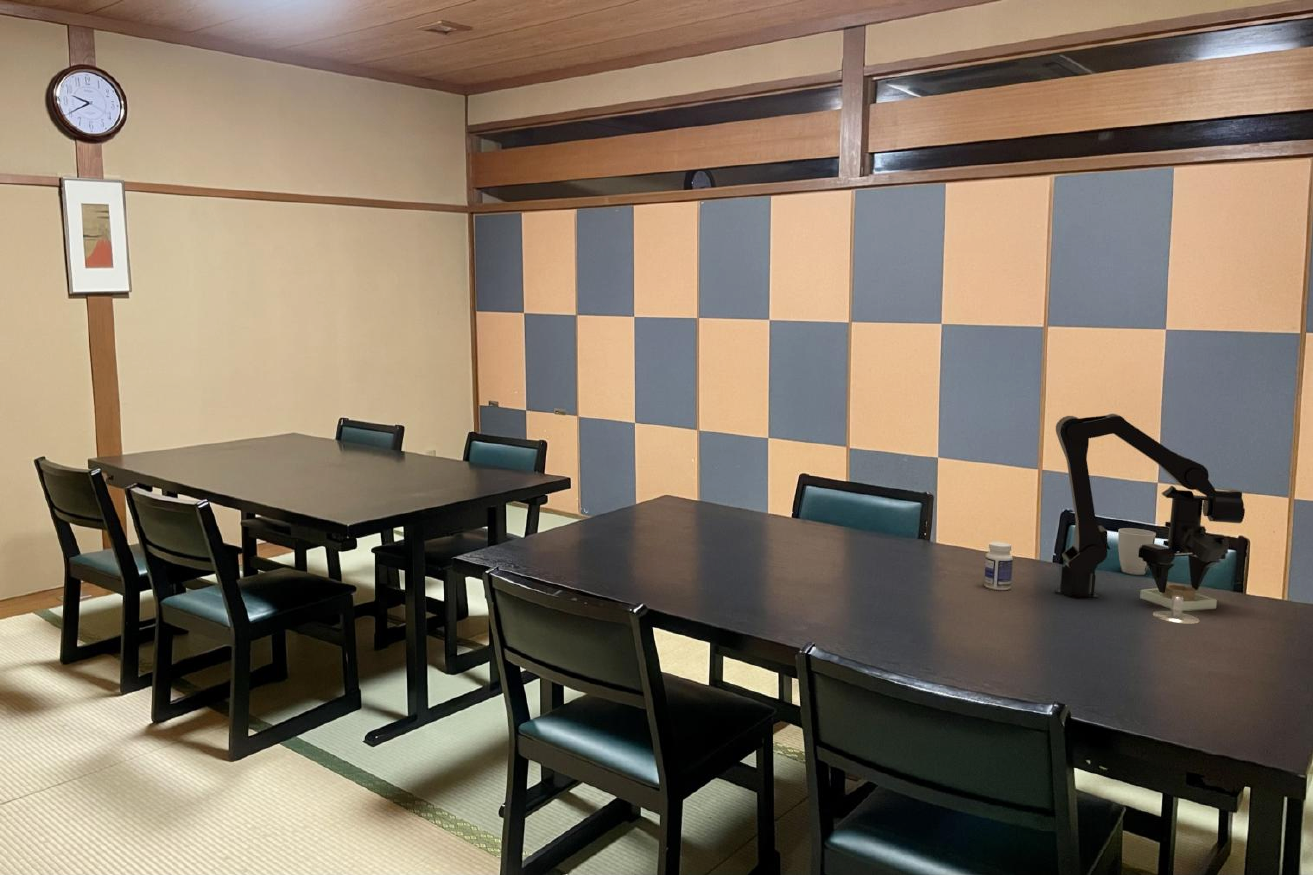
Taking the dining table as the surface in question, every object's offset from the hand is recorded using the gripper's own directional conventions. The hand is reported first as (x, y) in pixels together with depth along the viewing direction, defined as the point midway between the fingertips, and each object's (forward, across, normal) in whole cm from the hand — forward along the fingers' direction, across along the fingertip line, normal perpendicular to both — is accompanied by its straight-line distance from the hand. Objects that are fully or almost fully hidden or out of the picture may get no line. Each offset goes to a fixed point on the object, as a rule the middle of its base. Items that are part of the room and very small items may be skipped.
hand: (1178, 591), depth 210 cm
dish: (+3, 0, 0) cm, 3 cm away
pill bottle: (+3, -30, +21) cm, 37 cm away
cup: (+3, +13, +25) cm, 28 cm away
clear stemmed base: (+3, -9, -8) cm, 12 cm away
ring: (+2, 0, 0) cm, 2 cm away
